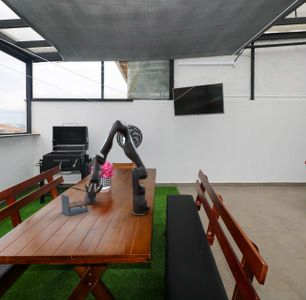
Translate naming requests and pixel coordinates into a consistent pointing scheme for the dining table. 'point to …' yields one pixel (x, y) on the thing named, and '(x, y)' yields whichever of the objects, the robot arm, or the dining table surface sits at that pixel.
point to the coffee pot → (86, 196)
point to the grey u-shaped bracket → (72, 206)
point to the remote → (91, 194)
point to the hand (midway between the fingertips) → (91, 197)
